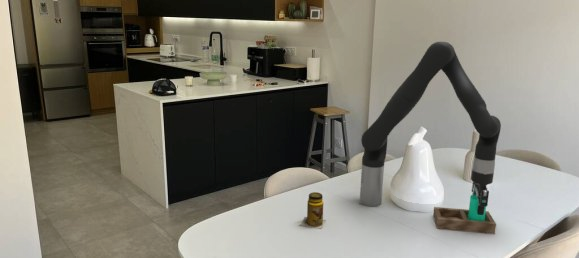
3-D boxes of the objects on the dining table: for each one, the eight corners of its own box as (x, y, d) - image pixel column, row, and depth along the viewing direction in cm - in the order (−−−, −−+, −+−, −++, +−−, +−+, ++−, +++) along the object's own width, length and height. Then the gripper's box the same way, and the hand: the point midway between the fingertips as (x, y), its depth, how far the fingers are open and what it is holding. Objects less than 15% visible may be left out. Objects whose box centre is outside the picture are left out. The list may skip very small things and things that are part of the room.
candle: (485, 226, 166) (489, 197, 163) (469, 225, 167) (472, 195, 164) (482, 220, 171) (485, 191, 168) (466, 218, 172) (469, 189, 169)
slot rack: (437, 228, 166) (438, 219, 165) (433, 216, 177) (434, 206, 176) (494, 233, 163) (496, 224, 162) (487, 220, 174) (488, 211, 173)
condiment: (321, 228, 165) (322, 199, 162) (299, 225, 168) (300, 196, 165) (325, 220, 172) (326, 191, 169) (304, 217, 175) (305, 189, 171)
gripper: (468, 162, 171) (463, 201, 175) (476, 175, 157) (471, 216, 161) (488, 163, 170) (483, 202, 174) (499, 177, 156) (492, 218, 160)
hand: (477, 209), depth 168 cm, fingers open, 8 cm apart
